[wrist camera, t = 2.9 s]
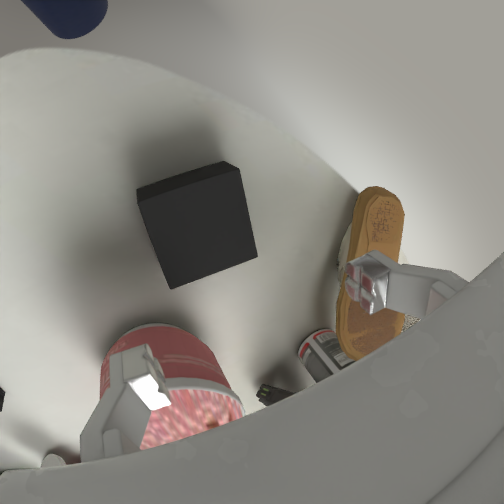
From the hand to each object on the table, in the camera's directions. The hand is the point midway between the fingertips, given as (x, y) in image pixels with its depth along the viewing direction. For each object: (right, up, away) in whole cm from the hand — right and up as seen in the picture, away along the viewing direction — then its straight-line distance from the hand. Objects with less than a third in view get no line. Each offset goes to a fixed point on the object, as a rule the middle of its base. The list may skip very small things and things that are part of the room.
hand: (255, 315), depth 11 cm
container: (-8, -7, +13) cm, 17 cm away
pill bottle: (+7, -7, +20) cm, 22 cm away
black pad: (-4, +5, +9) cm, 11 cm away
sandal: (+10, 0, +12) cm, 15 cm away
